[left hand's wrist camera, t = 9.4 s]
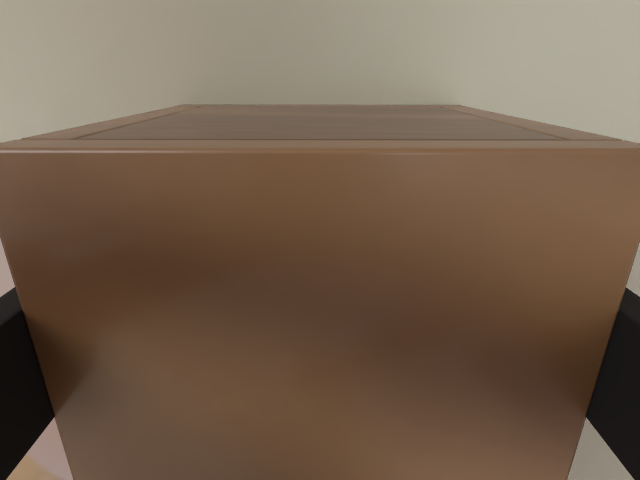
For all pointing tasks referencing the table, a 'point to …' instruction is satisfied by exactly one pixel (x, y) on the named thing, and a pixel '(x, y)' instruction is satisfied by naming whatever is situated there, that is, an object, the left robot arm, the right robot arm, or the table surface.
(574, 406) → the cabinet
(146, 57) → the table surface
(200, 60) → the table surface
